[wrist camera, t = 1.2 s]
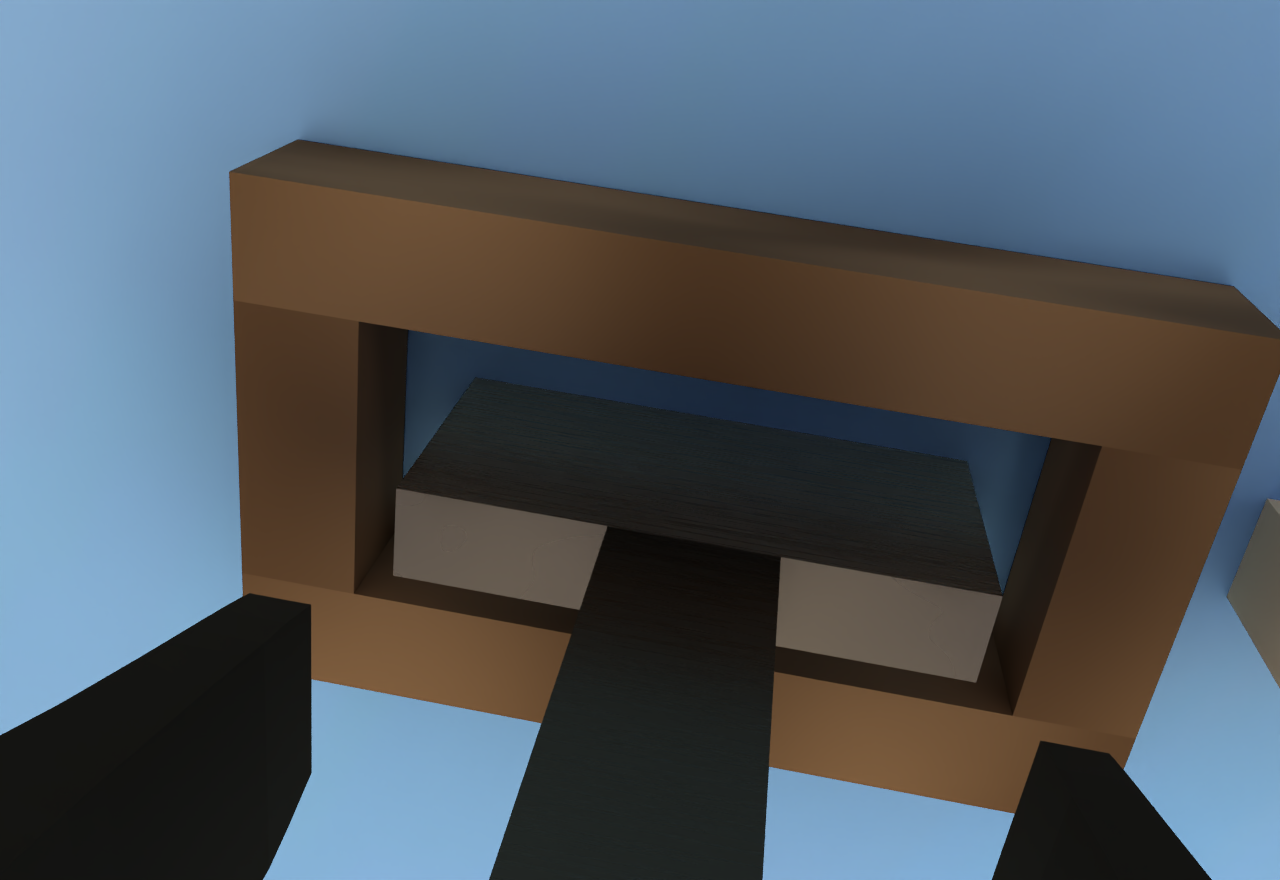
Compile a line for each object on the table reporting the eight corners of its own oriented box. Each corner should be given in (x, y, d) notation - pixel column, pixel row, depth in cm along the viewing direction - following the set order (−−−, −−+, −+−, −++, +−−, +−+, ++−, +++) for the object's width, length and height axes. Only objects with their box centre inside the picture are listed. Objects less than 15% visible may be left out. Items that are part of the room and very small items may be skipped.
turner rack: (1233, 286, 15) (1292, 340, 13) (1071, 735, 18) (1100, 829, 16) (298, 139, 15) (228, 171, 14) (300, 592, 19) (245, 666, 17)
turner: (966, 460, 16) (1133, 1090, 8) (945, 534, 17) (1080, 1203, 8) (475, 377, 17) (116, 881, 8) (471, 451, 17) (128, 999, 9)
